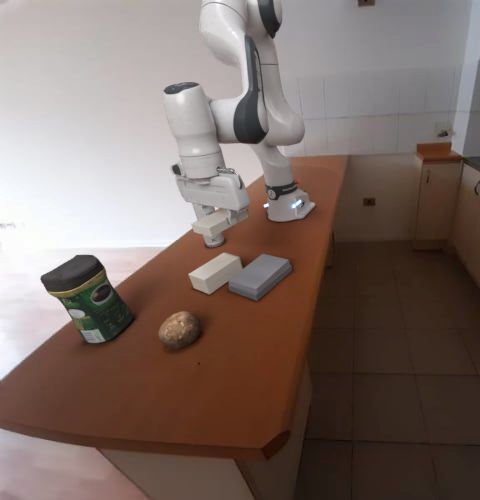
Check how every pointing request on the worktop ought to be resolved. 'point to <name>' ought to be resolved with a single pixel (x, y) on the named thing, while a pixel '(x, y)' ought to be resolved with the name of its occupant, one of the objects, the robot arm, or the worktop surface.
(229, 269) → the white book
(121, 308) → the coffee jar
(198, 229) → the cream flat block
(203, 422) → the worktop surface
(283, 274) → the grey book
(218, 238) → the travel mug
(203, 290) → the white book
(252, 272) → the grey book
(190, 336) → the brown oval lump
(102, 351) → the worktop surface
